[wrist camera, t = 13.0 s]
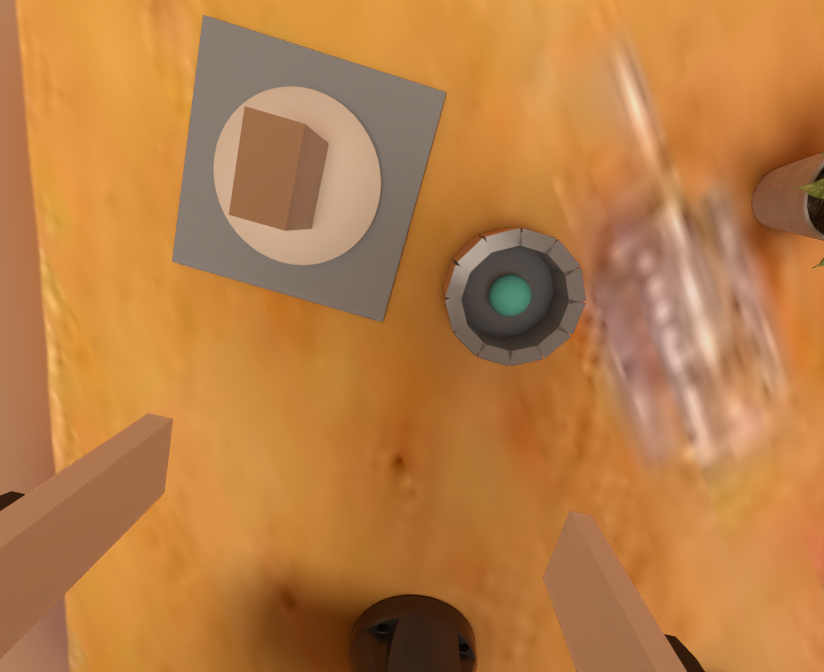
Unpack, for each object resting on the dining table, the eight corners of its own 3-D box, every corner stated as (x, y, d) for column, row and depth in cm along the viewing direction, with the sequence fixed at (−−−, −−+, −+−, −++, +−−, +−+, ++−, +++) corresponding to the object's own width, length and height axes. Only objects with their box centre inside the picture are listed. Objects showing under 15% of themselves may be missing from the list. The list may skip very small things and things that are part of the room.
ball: (517, 316, 38) (527, 325, 34) (480, 305, 37) (486, 313, 34) (531, 278, 37) (542, 284, 33) (493, 267, 37) (500, 271, 33)
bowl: (538, 360, 40) (554, 379, 35) (429, 328, 39) (430, 344, 34) (582, 249, 37) (606, 253, 32) (465, 213, 36) (472, 212, 32)
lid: (360, 281, 38) (343, 297, 30) (210, 239, 37) (151, 244, 29) (400, 118, 34) (392, 87, 26) (233, 69, 33) (174, 21, 25)
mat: (382, 320, 39) (382, 322, 39) (175, 261, 38) (172, 261, 38) (445, 94, 34) (446, 92, 33) (207, 18, 33) (203, 14, 32)
